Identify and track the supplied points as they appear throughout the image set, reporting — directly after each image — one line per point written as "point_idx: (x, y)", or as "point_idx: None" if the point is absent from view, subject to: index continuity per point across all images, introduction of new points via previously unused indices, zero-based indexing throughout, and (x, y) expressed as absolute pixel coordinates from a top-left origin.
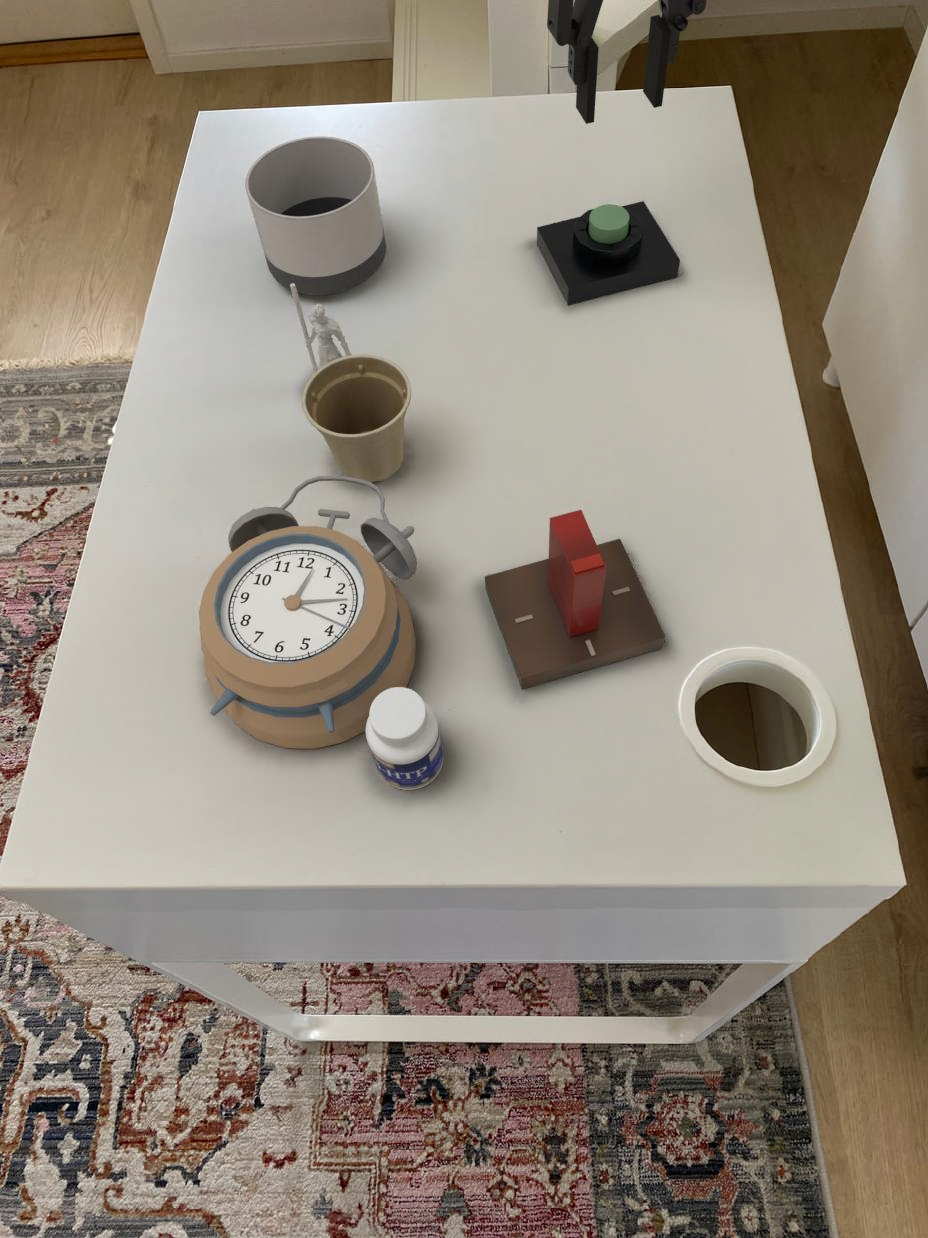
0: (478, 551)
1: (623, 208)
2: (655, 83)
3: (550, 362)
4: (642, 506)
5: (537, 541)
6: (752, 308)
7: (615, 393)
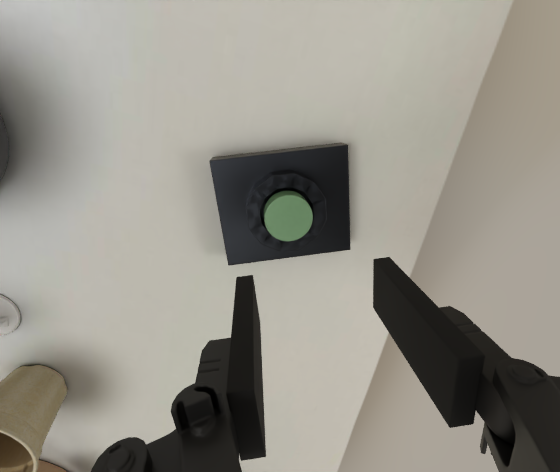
0: None
1: (309, 208)
2: (389, 329)
3: (201, 317)
4: None
5: None
6: None
7: None
